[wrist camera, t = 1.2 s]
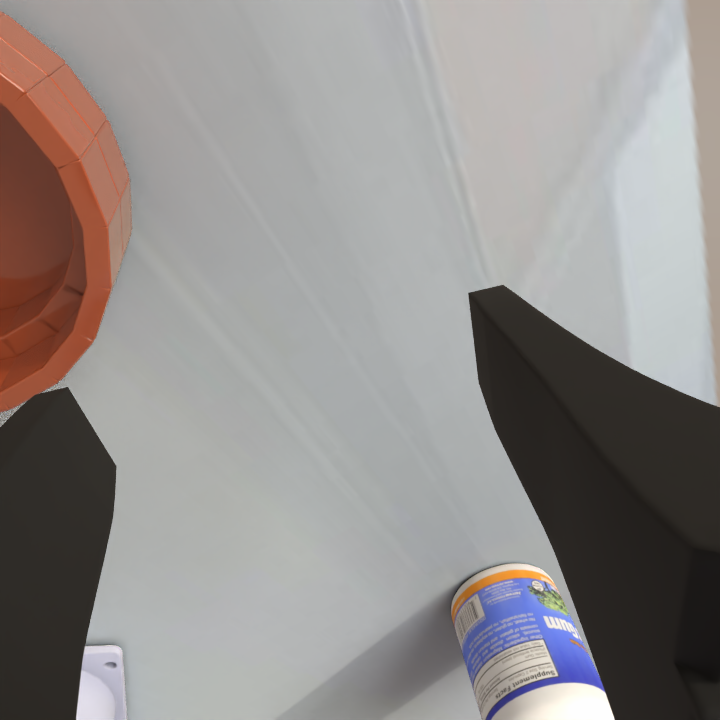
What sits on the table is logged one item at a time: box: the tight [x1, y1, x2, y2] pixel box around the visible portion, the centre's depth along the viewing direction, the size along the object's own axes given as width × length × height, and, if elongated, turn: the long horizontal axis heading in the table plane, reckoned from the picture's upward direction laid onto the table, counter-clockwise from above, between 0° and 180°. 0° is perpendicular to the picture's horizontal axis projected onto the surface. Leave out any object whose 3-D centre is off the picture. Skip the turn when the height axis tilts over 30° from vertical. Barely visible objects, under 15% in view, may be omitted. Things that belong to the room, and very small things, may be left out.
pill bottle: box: [451, 564, 615, 720], centre depth 29 cm, size 5×5×10 cm
